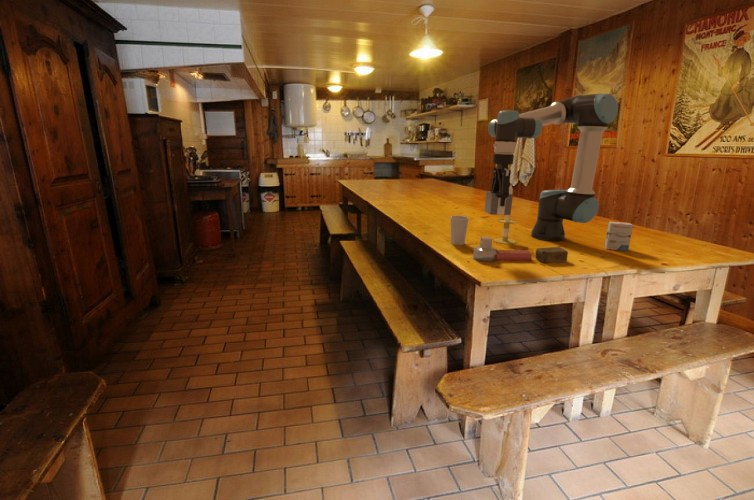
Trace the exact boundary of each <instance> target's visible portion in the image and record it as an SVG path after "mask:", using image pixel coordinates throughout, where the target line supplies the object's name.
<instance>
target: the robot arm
mask: <svg viewBox="0 0 754 500" xmlns="http://www.w3.org/2000/svg"><path fill="white" fill-rule="evenodd" d="M618 113H619V104H618V101H617V99H616V97H615V96H614V95H612V94H611V93H592V94H584V95H583V94H581V95H580V94H579V95H574V96H571V97H568V98H565V99H564V98H563V99H561V100H559V101H554V102H552V103H551V104H550V105H548V106H546V107H545V106H544V107H541V108H538V109H533V110H530V111H526V112H523V113H520V112H519V110H500V111H499V112H498V113H497V118H495V119H492V120H491V121H490V122H489V123H488V127H487V130H488V131H487V132H488V134H489V135H490V136H491V138H495V140H494V143H493V144H492V145H493V147H494V149H493V152H494V153H493V156H492V164H494V165H496V167H493V173H492V174H493V175H492V179H491V185H490V191H498V192H500V196H498V207H497V215H496V216H505V215H504V212H505V204H506V198H507V197H509V187H510V185H511V183H510V182H511V173H512V170H511V169H509V165H510V166H511V165H513V164H514V158H515V156H514V154H515V151H516V144H517V143H516V142H517V141H516V140H517V139H529V140H530V139H531V140H532V139H537V138H538V137H539V136H540V135H541V134H542V132H543V127H546V126H548V125H549V126H550V125H561V124H577V129H578V130H579V132H580V134H579V137H578V138H579V139H578V144H577V148H576V149H577V150H576V155H575V160H574V167H573V173H572V178H571V184H570V187H569V188H568V189H546V190H542V191H541V192H540V195H539V199H538V208H537V214H536V215H537V216H536V221H535V223H534V226H533V227H532V229H531V233H530V236H531V237H532V238H535V239H538V240H544V241H550V242H551V241H553V242H555V241H563V240H565V236H566V233H565V232H566V231H565V228H564V220H566V221H571V222H574V223H580V224H586V223H589V222H590V221H592V220H593V219H594V218H595V217H596V215H597V214H598V211H599V208H600V203H599V200H598V199H597V198H596V196H595V195H596V192H595V190H593V186H594V180H595V175H596V170H597V165H598V159H599V155H600V148H601V144H602V139H603V133H604V132H605V131H606V130H608V128H609V124H611V123H613V122H614V121H615V119H616V118H617V117H618Z"/></svg>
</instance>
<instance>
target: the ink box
mask: <svg viewBox="0 0 754 500" xmlns="http://www.w3.org/2000/svg"><path fill="white" fill-rule="evenodd" d="M607 225H608V226H607V231H606V237H605V240H604V241H605V242H604V248H605V249H606V250H609V249H611V250H612V251H620V250H622V252H628V251H629V248H630V242H631V240H632V239H631V237H632V232H633V229H634V228H633V227H634V225H633V224H632V223H630V222H618V221H608V224H607Z"/></svg>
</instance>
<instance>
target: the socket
mask: <svg viewBox="0 0 754 500" xmlns="http://www.w3.org/2000/svg"><path fill="white" fill-rule="evenodd" d="M485 193H486V194H485V201H484V210H483V211H484V212H485V213H486V214H488V215H494V216H495V215H496V216H498V215H497V207H498V196H500V191H499V192H498V191H488V190H486V192H485ZM513 196H514V194H510V193H509V197H507V198H506V204H505V212H504V215H503V216H505V215H510V216H511V213H512V204H513Z"/></svg>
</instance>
